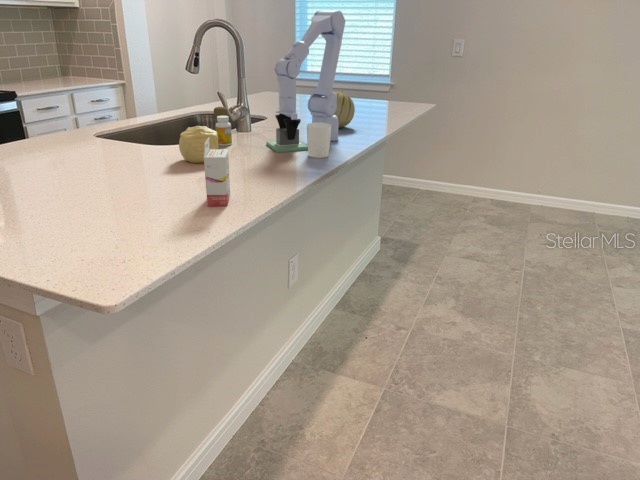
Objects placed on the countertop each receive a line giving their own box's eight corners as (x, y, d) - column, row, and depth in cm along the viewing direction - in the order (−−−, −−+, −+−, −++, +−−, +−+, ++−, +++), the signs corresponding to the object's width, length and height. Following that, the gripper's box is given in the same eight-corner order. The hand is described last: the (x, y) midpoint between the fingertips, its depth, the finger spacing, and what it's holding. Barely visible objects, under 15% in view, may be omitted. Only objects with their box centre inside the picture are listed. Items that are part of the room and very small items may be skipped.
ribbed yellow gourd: (313, 129, 204) (313, 91, 198) (326, 123, 216) (327, 87, 210) (347, 132, 199) (348, 93, 193) (358, 126, 211) (360, 89, 205)
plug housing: (295, 141, 175) (295, 127, 173) (299, 144, 172) (299, 129, 170) (276, 142, 173) (276, 128, 171) (279, 145, 170) (279, 130, 168)
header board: (298, 142, 180) (298, 132, 179) (310, 149, 170) (310, 138, 169) (266, 144, 176) (266, 134, 175) (276, 152, 166) (276, 141, 164)
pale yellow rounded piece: (185, 167, 147) (182, 130, 143) (176, 158, 157) (173, 123, 152) (223, 163, 152) (221, 127, 147) (212, 154, 161) (209, 121, 157)
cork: (226, 138, 184) (225, 108, 179) (211, 137, 185) (209, 107, 180) (232, 135, 189) (231, 106, 185) (217, 134, 190) (215, 105, 186)
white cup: (333, 154, 165) (334, 123, 161) (326, 159, 158) (326, 128, 154) (311, 151, 167) (311, 122, 163) (303, 157, 160) (303, 126, 156)
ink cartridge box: (228, 206, 116) (224, 144, 110) (206, 206, 115) (202, 144, 110) (231, 195, 124) (228, 136, 118) (211, 195, 123) (206, 136, 117)
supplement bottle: (213, 144, 175) (211, 116, 171) (225, 142, 179) (224, 114, 175) (222, 146, 172) (221, 118, 168) (235, 144, 175) (233, 116, 172)
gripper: (269, 94, 171) (270, 134, 176) (282, 100, 159) (283, 142, 164) (289, 93, 173) (289, 132, 179) (303, 99, 161) (303, 141, 167)
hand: (287, 137), depth 172 cm, fingers open, 7 cm apart
